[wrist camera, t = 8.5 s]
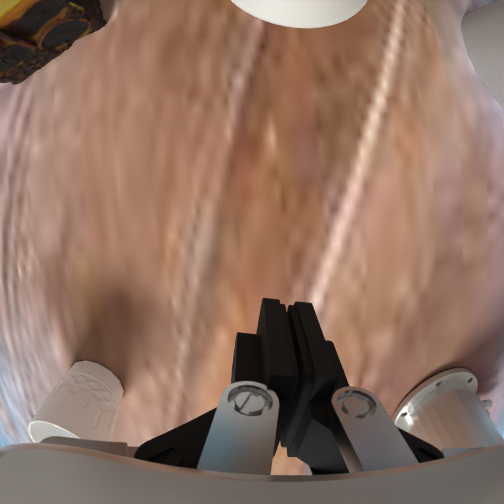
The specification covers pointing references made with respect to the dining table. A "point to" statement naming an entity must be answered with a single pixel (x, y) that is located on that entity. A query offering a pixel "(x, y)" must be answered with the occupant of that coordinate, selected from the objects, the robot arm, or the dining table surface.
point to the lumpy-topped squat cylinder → (487, 46)
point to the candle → (41, 32)
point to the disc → (302, 11)
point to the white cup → (80, 405)
